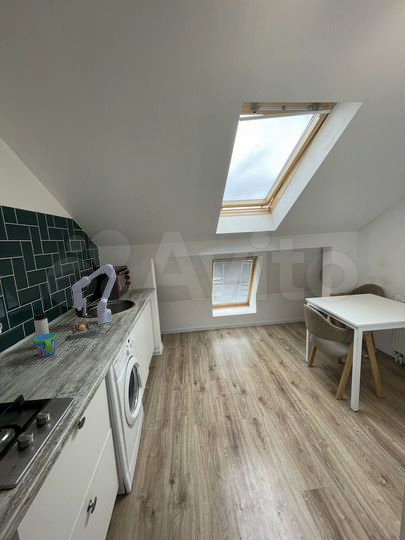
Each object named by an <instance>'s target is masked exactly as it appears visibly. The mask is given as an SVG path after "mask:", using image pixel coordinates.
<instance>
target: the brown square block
mask: <svg viewBox="0 0 405 540" xmlns="http://www.w3.org/2000/svg"><path fill="white" fill-rule="evenodd" d="M82 324H83V325H85V329H86V328H88V325H87V321H86V320H82V321H79V322H76V325H75V327H76V330H79V326H80V325H82Z"/></svg>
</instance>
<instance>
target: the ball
mask: <svg viewBox="0 0 405 540" xmlns="http://www.w3.org/2000/svg"><path fill="white" fill-rule="evenodd" d="M85 329H86V328H85V325H83V324H82V325H80V326H79V329H78V330H80V331H84V330H85Z"/></svg>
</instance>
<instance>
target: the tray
mask: <svg viewBox="0 0 405 540" xmlns="http://www.w3.org/2000/svg"><path fill="white" fill-rule="evenodd" d="M69 332H70V333H69V334H70V340H71V341H74V340H79V339H83V338H87V337H92V336H94V335H95V336H96V335H97V329H96V327H95V325H92V329H91V330H88V331H87V330H86V331H81V332H76V333H74V332H73V330H69Z"/></svg>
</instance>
